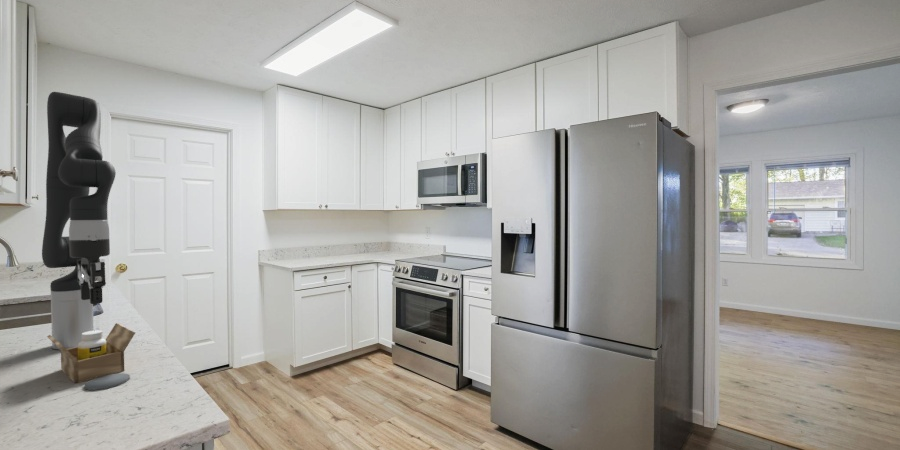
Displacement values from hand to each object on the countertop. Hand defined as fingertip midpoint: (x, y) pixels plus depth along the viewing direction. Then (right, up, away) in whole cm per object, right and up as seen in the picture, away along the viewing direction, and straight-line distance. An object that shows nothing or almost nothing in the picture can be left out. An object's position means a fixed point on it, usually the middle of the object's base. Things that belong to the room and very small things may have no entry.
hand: (91, 301), depth 99 cm
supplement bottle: (0, -18, 0) cm, 18 cm away
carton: (0, -18, 0) cm, 18 cm away
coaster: (+10, -18, -7) cm, 22 cm away
